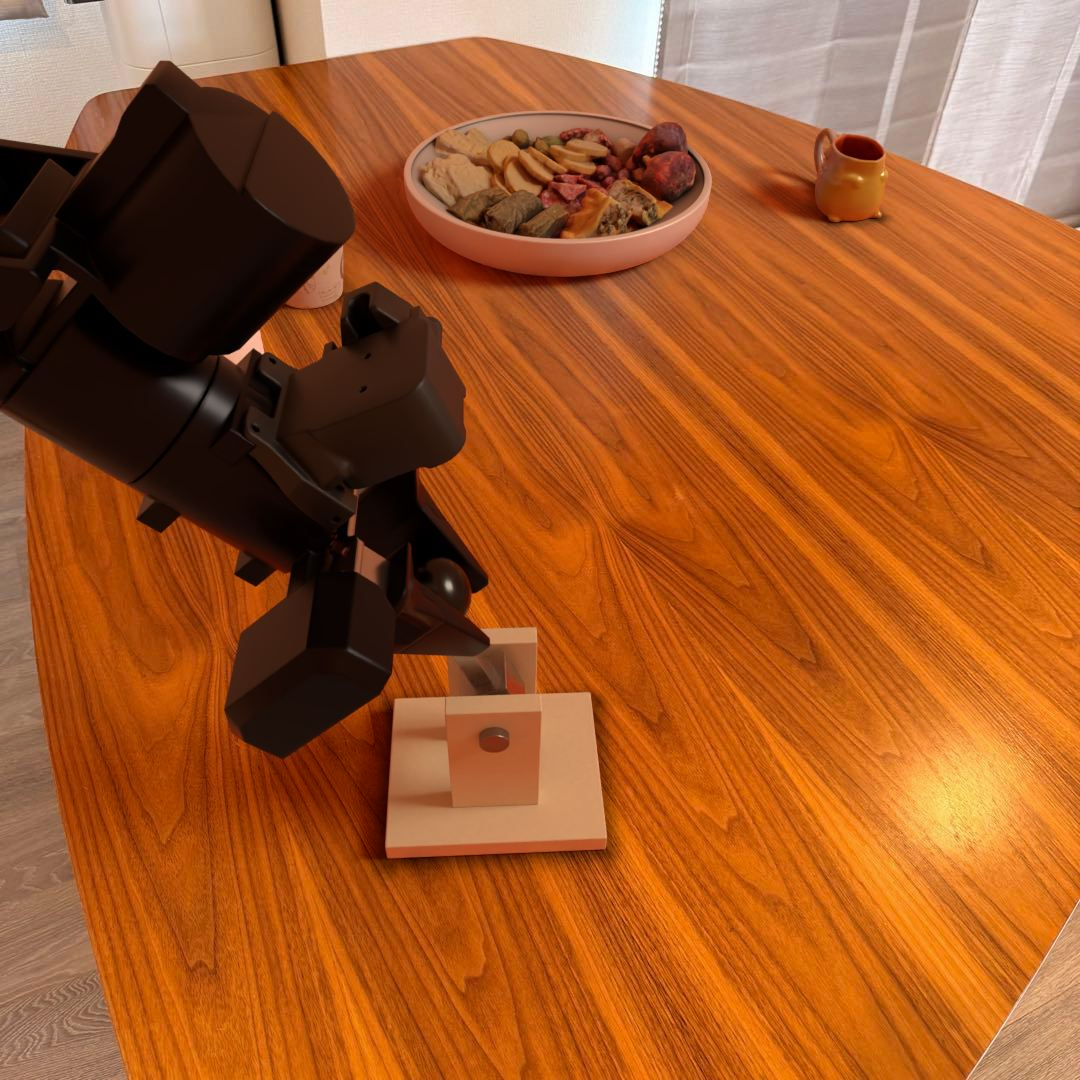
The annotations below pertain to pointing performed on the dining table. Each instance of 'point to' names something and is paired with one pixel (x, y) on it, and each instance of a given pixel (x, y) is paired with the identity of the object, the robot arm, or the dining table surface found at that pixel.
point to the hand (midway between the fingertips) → (482, 616)
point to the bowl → (558, 191)
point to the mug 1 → (321, 285)
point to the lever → (455, 589)
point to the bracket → (495, 767)
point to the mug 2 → (849, 176)
